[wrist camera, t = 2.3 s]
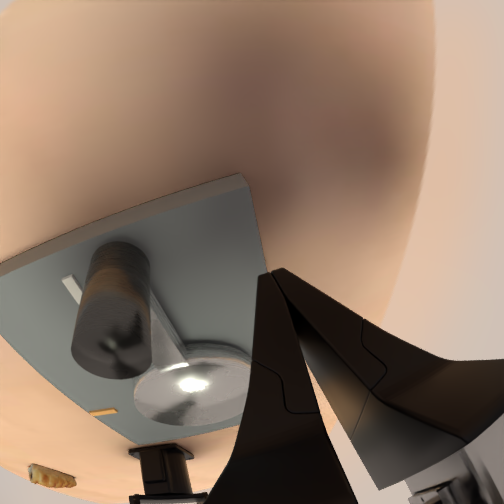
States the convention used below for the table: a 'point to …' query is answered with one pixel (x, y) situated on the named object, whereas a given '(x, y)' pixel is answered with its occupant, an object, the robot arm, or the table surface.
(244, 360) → the silver handled piece
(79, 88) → the table surface
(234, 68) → the table surface
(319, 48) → the table surface
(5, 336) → the base plate
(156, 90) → the table surface
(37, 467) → the pastry
